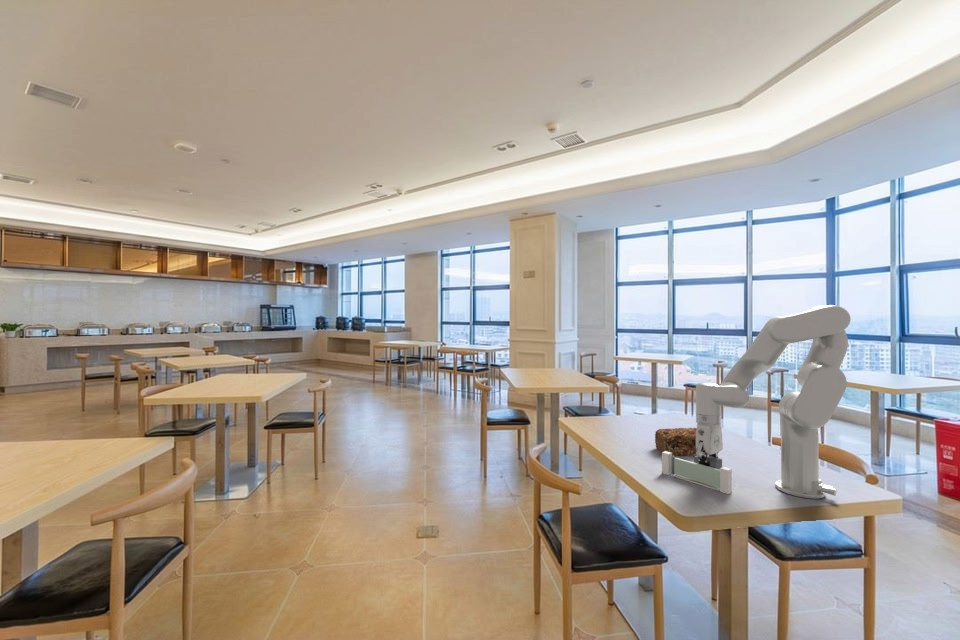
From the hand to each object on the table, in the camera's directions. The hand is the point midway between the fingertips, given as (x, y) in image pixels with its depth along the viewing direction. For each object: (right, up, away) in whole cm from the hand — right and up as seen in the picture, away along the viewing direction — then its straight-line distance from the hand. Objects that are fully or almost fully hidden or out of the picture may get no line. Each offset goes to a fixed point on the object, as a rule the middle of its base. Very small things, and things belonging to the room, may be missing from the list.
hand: (708, 470), depth 141 cm
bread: (+5, -3, +28) cm, 29 cm away
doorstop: (0, -1, 0) cm, 1 cm away
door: (-6, -3, -3) cm, 7 cm away
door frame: (-6, -3, -3) cm, 7 cm away
